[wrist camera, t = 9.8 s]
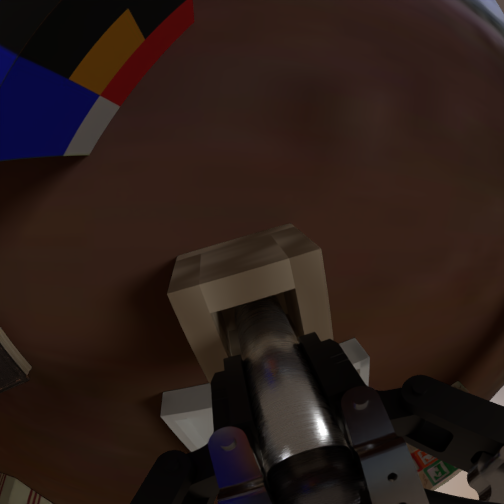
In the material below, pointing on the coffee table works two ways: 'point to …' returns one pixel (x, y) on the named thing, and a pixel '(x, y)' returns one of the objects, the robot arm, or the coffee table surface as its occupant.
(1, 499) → the gift box
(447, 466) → the stack of blocks
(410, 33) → the coffee table surface
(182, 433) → the tray
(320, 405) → the cylinder
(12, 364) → the hardcover book
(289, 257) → the maple bore block
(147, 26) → the puzzle toy
